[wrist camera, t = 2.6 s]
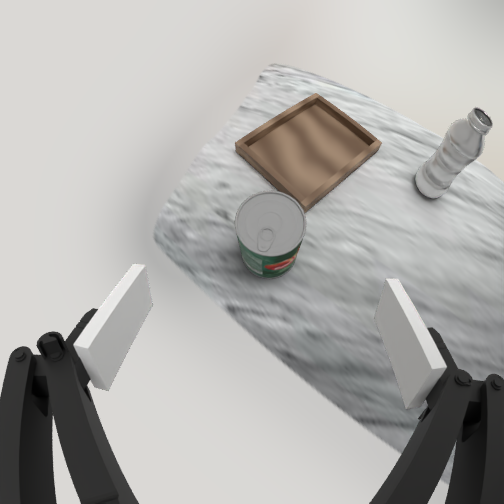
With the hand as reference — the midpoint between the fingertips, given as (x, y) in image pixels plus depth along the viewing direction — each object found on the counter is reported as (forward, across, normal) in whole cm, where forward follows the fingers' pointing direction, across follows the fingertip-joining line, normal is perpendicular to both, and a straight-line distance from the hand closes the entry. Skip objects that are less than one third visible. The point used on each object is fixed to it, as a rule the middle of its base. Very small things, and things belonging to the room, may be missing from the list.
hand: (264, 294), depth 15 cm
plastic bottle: (+35, +29, 0) cm, 45 cm away
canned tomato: (+25, 0, -10) cm, 27 cm away
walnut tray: (+39, +7, +3) cm, 39 cm away
